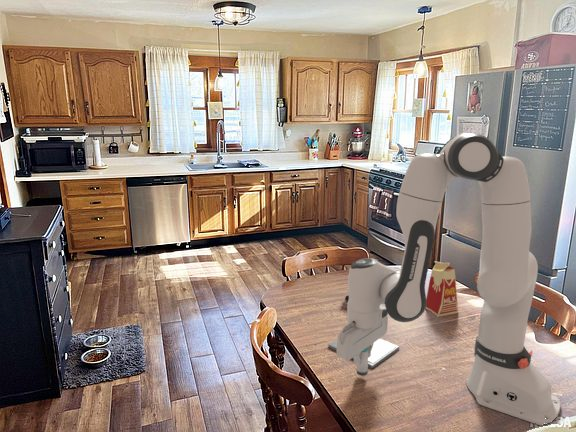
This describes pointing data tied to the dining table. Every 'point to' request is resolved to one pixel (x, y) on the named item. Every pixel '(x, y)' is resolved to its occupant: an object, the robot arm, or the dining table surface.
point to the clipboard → (375, 351)
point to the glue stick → (363, 363)
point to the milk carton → (442, 290)
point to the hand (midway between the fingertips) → (362, 360)
